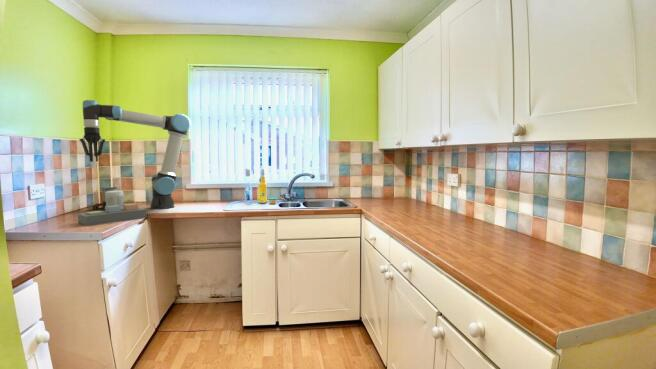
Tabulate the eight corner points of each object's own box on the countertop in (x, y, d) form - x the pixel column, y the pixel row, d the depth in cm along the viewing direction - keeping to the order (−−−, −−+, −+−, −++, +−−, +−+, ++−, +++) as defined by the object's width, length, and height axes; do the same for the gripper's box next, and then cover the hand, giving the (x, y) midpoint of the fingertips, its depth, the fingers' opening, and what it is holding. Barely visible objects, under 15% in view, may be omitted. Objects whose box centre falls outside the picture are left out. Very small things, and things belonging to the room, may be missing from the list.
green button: (99, 217, 194) (99, 210, 193) (103, 219, 190) (102, 211, 189) (86, 219, 189) (86, 212, 189) (90, 220, 185) (90, 213, 185)
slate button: (117, 211, 200) (116, 205, 200) (121, 213, 196) (120, 205, 196) (105, 213, 196) (104, 206, 195) (109, 214, 192) (108, 207, 192)
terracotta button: (133, 209, 207) (133, 203, 207) (138, 210, 203) (137, 204, 203) (122, 211, 203) (122, 204, 202) (126, 212, 199) (126, 205, 198)
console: (136, 215, 212) (136, 207, 212) (146, 217, 203) (146, 209, 203) (78, 222, 189) (77, 213, 189) (86, 226, 180) (85, 216, 180)
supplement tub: (123, 213, 219) (122, 190, 218) (126, 215, 212) (125, 191, 211) (105, 215, 213) (103, 191, 212) (107, 217, 206) (106, 192, 205)
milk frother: (118, 210, 232) (116, 188, 231) (89, 212, 225) (88, 189, 224) (120, 207, 245) (119, 186, 244) (93, 209, 238) (92, 187, 237)
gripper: (102, 128, 213) (104, 166, 215) (76, 126, 203) (79, 167, 205) (106, 127, 208) (108, 167, 210) (80, 126, 198) (83, 167, 200)
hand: (94, 167), depth 208 cm, fingers closed
